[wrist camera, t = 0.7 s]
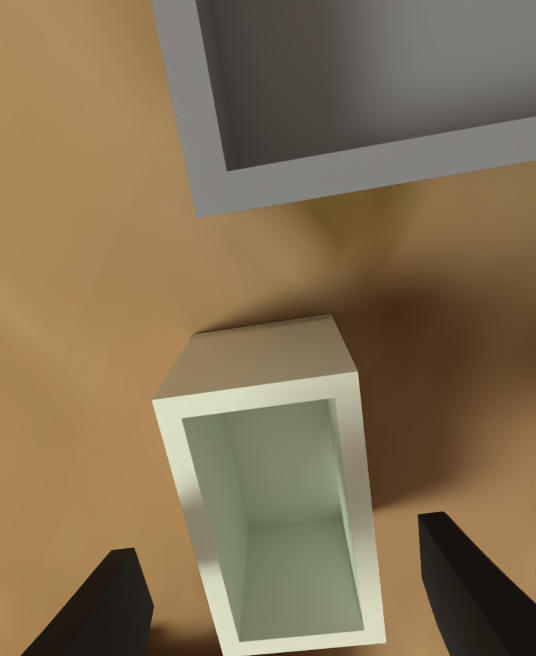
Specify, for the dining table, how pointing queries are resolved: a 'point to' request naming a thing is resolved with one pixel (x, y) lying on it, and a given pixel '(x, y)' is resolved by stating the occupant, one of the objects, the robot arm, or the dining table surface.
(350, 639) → the sage crate
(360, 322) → the dining table surface
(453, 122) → the charcoal crate
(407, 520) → the dining table surface
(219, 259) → the dining table surface
